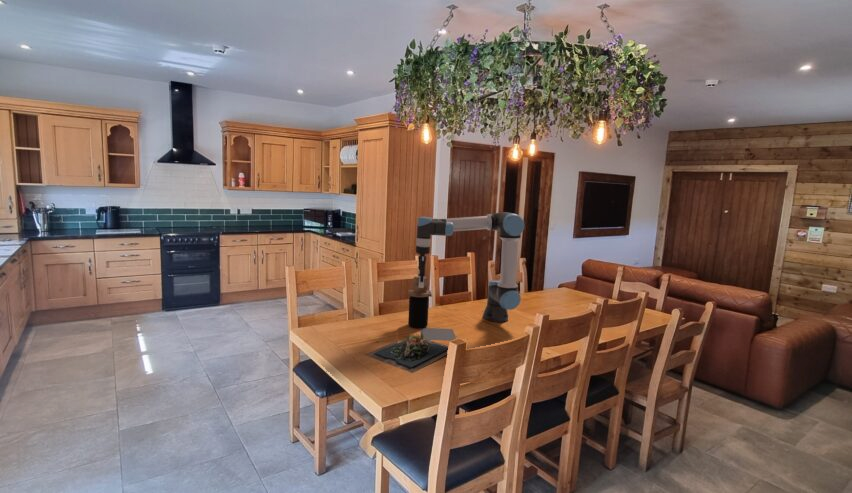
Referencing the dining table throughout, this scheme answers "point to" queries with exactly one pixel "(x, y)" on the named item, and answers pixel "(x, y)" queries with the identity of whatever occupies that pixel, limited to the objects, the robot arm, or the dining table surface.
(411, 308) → the coffee jar
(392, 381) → the dining table surface
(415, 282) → the lid
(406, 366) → the plated dish
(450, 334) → the mat
